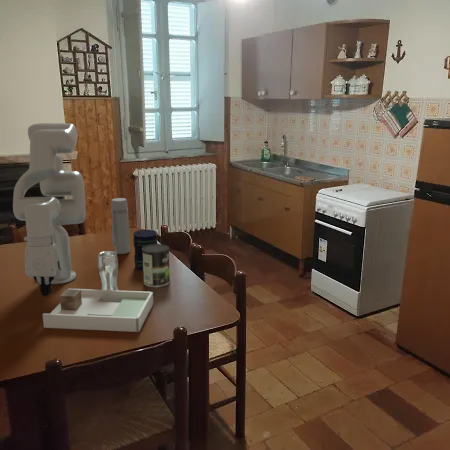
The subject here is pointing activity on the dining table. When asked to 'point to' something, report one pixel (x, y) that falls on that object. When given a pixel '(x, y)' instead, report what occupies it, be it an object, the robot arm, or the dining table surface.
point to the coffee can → (156, 265)
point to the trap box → (104, 311)
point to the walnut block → (70, 299)
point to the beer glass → (108, 269)
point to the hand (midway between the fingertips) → (46, 294)
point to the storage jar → (142, 245)
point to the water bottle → (120, 226)
